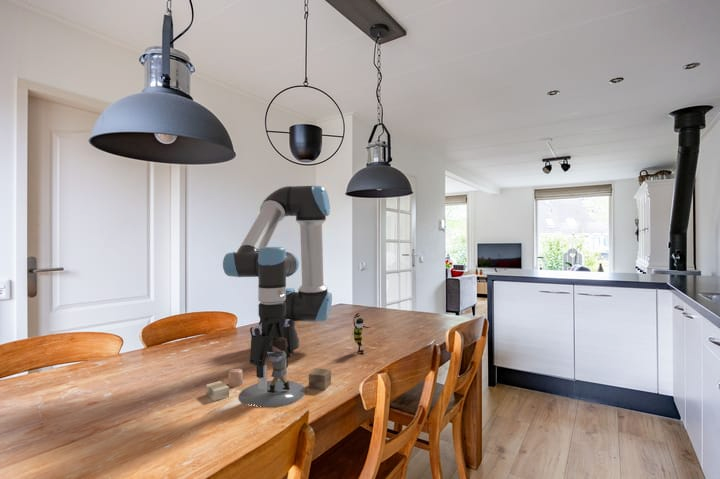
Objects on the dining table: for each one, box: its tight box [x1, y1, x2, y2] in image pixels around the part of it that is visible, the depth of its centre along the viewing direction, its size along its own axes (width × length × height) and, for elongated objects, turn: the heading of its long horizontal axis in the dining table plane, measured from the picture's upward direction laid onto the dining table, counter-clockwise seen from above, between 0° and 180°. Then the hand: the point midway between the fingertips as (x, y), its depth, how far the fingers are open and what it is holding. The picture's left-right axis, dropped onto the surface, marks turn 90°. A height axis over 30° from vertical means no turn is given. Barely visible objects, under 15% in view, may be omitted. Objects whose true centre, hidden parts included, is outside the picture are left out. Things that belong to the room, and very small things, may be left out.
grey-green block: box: [205, 380, 230, 402], centre depth 102 cm, size 6×4×4 cm, turn 43°
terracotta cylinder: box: [227, 368, 244, 388], centre depth 110 cm, size 4×4×5 cm
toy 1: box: [266, 337, 290, 393], centre depth 103 cm, size 8×10×15 cm
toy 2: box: [350, 312, 371, 355], centre depth 144 cm, size 7×8×15 cm
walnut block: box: [308, 368, 332, 391], centre depth 109 cm, size 5×5×5 cm
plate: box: [238, 380, 306, 408], centre depth 104 cm, size 18×18×1 cm
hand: (272, 384), depth 104 cm, fingers open, 6 cm apart
